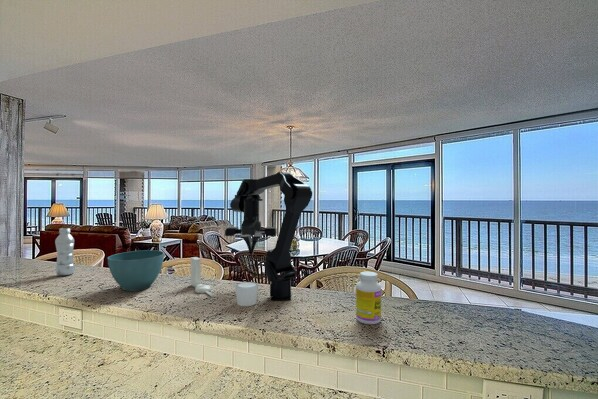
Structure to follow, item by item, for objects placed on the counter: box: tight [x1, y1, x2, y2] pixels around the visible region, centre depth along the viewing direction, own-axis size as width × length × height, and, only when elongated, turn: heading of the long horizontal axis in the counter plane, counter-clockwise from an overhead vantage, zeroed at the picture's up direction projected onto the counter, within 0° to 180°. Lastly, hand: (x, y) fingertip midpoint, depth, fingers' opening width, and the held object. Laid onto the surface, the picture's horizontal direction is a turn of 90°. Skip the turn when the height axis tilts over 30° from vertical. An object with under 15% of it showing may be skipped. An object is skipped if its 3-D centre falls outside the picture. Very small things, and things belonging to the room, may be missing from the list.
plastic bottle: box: [54, 227, 76, 277], centre depth 126 cm, size 6×7×20 cm
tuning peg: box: [190, 256, 214, 298], centre depth 102 cm, size 5×17×10 cm, turn 39°
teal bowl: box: [107, 249, 165, 292], centre depth 109 cm, size 18×18×12 cm
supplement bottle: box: [355, 271, 382, 325], centre depth 81 cm, size 7×7×13 cm
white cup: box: [235, 281, 259, 309], centre depth 90 cm, size 7×7×7 cm
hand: (251, 254), depth 111 cm, fingers closed
